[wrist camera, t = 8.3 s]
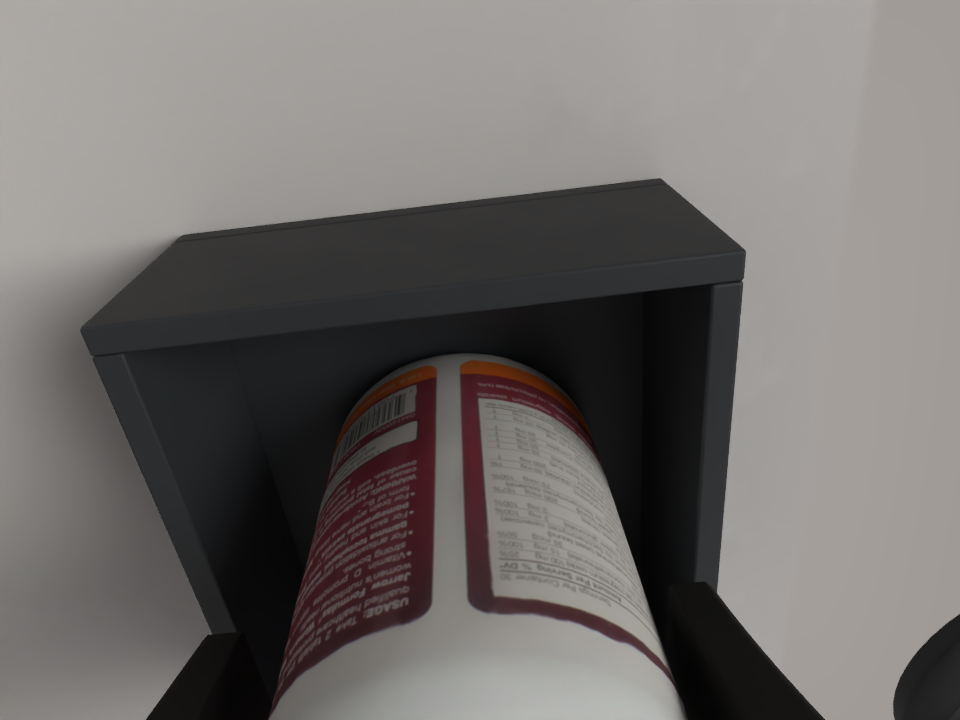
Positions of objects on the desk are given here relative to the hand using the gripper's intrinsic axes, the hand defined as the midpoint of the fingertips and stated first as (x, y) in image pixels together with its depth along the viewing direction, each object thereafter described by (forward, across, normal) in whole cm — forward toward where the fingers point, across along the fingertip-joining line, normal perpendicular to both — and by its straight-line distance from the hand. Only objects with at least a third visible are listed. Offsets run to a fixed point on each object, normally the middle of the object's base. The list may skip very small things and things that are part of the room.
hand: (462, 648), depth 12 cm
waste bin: (+6, 0, 0) cm, 6 cm away
